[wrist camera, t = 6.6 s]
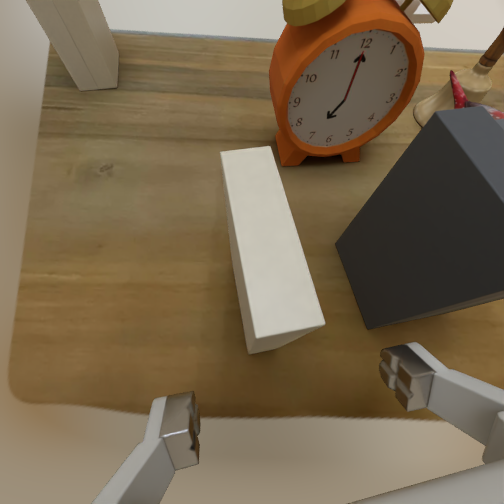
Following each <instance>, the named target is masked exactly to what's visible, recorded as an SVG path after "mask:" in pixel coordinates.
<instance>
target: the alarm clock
mask: <svg viewBox="0 0 504 504" xmlns="http://www.w3.org/2000/svg"><path fill="white" fill-rule="evenodd" d="M419 1H420V2H421V3H422V4H423V6H424V7H425V8H426V9H427V11H428V12H429V13H430V14H431V16H432V17H433V18H434V19H435V20H436V22H438V23H439V22H440V21H441V20H442V19H443V17H444V16H445V14H446V13H447V12H448V10H449V9H450V7H451V5H452V2H453V0H419ZM412 2H413V0H405V1H404V2H403V4H402V5H401V6H399V4H398V3H397V2H396V0H283V1H282V3H283V13H284V20H285V21H286V22H287V25H286V27H285V29H284V30H283V32H282V34H281V36H280V38H279V40H278V42H277V44H276V46H275V48H274V52H273V56H272V61H271V65H270V69H269V80H270V93H271V97H272V102H273V106H274V110H275V115H276V119H277V123H278V126H279V128H280V129H279V131H278V132H277V134H276V135H275V137H276V142H277V146H278V151H279V156H280V160H281V165H282V166H296V165H299V164H300V163H301V162H302V161H303V160H304V159H305V158H306V157H307V155H309V156H320V157H328V156H333V155H339V154H341V156H342V159H343V162H357V161H359V155H360V147H361V146H362V145H364V144H366V143H367V142H369V141H370V140H372V139H374V138H375V137H377V136H378V135H379V134H381V133H382V132H383V131H384V130H385V129H386V128H387V127H388V126H390V125H391V124H392V123H393V122H394V121H395V120H396V119H397V117H398V116H399V115H400V114H401V112H402V111H403V110H404V109H405V107H406V106H407V105H408V103H409V102H410V100H411V98H412V96H413V94H414V92H415V90H416V88H417V86H418V84H419V82H420V77H421V71H422V66H423V60H424V50H423V46H422V41H421V37H420V33H419V31H418V30H417V28H416V27H415V26H414V24H413V23H412V22H411V20H410V19H409V18H408V16H407V15H406V14H405V12H404V11H405V10H406V8H407V7H408V6H409V5H410V4H411V3H412Z"/></svg>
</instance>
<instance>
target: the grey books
mask: <svg viewBox="0 0 504 504" xmlns="http://www.w3.org/2000/svg"><path fill="white" fill-rule="evenodd" d="M335 244H336V247H337V249H338V252H339V255H340V257H341V260H342V263H343V265H344V268H345V271H346V273H347V276H348V279H349V281H350V284H351V287H352V289H353V292H354V295H355V297H356V300H357V303H358V305H359V308H360V311H361V313H362V316H363V319H364V321H365V324H366V327H367V329H373V328H378V327H382V326H387V325H392V324H397V323H401V322H406V321H411V320H416V319H421V318H425V317H430V316H435V315H440V314H444V313H449V312H453V311H457V310H461V309H465V308H469V307H473V306H476V305H480V304H484V303H488V302H492V301H496V300H500V299H504V119H496V120H495V119H494V118H493V117H492V116H491V115H490V114H489V113H488V111H487V110H486V109H485V108H484V107H483V106H477V107H468V108H459V109H450V110H440V111H435V112H434V113H433V115H432V116H431V117H430V119H429V120H428V121H427V123H426V124H425V125H424V127H423V128H422V129H421V131H420V132H419V133H418V135H417V136H416V137H415V139H414V140H413V141H412V143H411V144H410V145H409V147H408V148H407V149H406V150H405V152H404V153H403V154H402V156H401V157H400V158H399V160H398V161H397V162H396V164H395V165H394V166H393V168H392V169H391V170H390V172H389V173H388V174H387V176H386V177H385V178H384V180H383V181H382V182H381V184H380V185H379V186H378V188H377V189H376V190H375V192H374V193H373V194H372V195H371V197H370V198H369V199H368V201H367V202H366V203H365V205H364V206H363V207H362V209H361V210H360V211H359V213H358V214H357V215H356V217H355V218H354V219H353V221H352V222H351V223H350V225H349V226H348V227H347V229H346V230H345V231H344V233H343V234H342V235H341V237H340V238H339V239H338V240H337V242H336V243H335Z"/></svg>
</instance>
